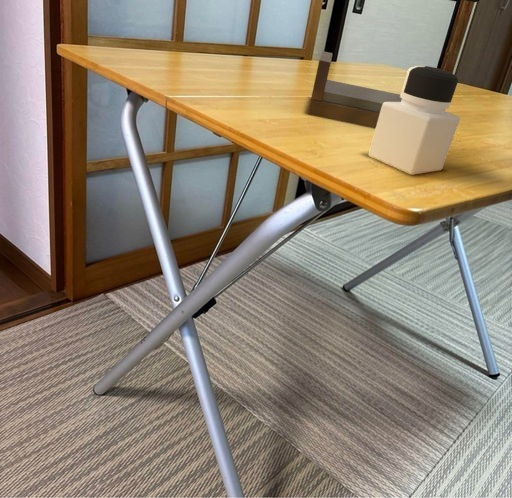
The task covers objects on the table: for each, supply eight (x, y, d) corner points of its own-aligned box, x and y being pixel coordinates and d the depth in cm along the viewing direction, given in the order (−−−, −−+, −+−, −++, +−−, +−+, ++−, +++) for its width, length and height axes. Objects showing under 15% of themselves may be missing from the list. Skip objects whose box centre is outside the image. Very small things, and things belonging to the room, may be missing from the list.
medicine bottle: (442, 170, 67) (476, 76, 61) (411, 176, 63) (444, 74, 57) (398, 152, 72) (426, 63, 66) (366, 156, 67) (393, 60, 62)
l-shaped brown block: (397, 116, 94) (411, 69, 90) (405, 135, 82) (422, 80, 78) (312, 99, 95) (322, 51, 91) (307, 114, 83) (319, 59, 79)
